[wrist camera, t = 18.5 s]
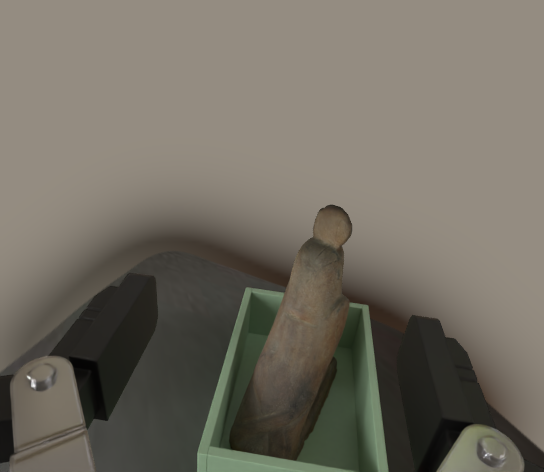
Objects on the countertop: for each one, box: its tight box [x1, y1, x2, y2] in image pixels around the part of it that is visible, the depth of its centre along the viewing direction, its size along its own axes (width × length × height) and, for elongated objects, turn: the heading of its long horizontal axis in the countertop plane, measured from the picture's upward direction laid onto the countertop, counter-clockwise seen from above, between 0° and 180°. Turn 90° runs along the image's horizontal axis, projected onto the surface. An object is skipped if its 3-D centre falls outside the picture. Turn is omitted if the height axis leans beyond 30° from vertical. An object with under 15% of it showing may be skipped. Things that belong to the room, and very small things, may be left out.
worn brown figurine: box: [229, 205, 352, 461], centre depth 31 cm, size 12×6×18 cm, turn 148°
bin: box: [197, 287, 388, 472], centre depth 32 cm, size 11×16×6 cm
